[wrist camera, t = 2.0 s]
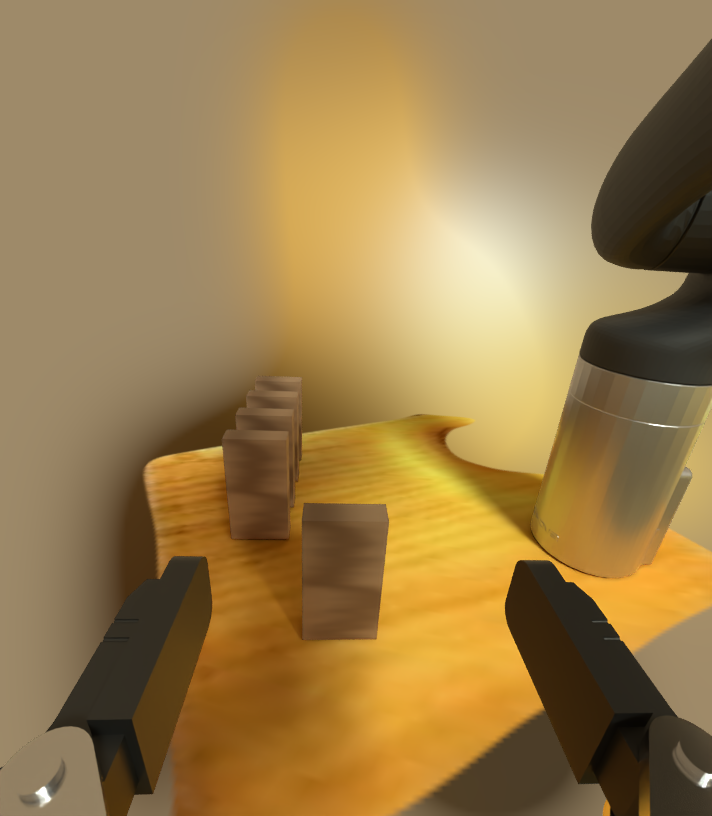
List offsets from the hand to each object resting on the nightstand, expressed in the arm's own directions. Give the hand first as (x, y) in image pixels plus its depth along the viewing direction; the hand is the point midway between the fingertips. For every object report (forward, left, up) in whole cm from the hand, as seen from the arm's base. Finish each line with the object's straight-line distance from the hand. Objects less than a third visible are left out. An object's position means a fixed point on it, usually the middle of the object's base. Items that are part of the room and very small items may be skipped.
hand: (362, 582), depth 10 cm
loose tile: (0, -11, -17) cm, 20 cm away
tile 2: (+7, -21, -17) cm, 27 cm away
